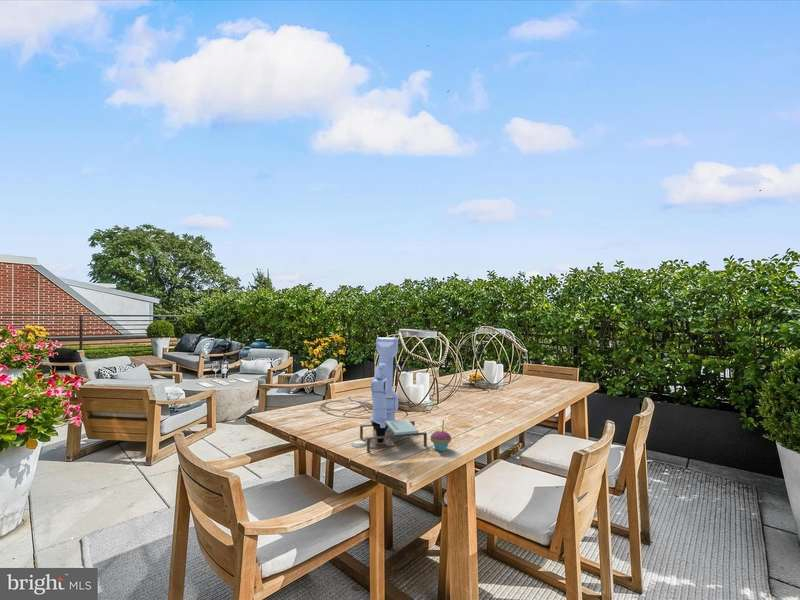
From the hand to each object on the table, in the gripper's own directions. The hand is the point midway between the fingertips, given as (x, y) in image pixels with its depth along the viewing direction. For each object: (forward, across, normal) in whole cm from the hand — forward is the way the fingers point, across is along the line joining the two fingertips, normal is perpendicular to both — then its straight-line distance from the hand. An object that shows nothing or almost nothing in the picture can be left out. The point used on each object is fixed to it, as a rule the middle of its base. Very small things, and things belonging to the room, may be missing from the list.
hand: (379, 440), depth 164 cm
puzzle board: (+2, 0, +3) cm, 4 cm away
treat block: (+1, 0, 0) cm, 1 cm away
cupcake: (+2, +11, +24) cm, 26 cm away
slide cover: (-4, 0, +10) cm, 11 cm away
